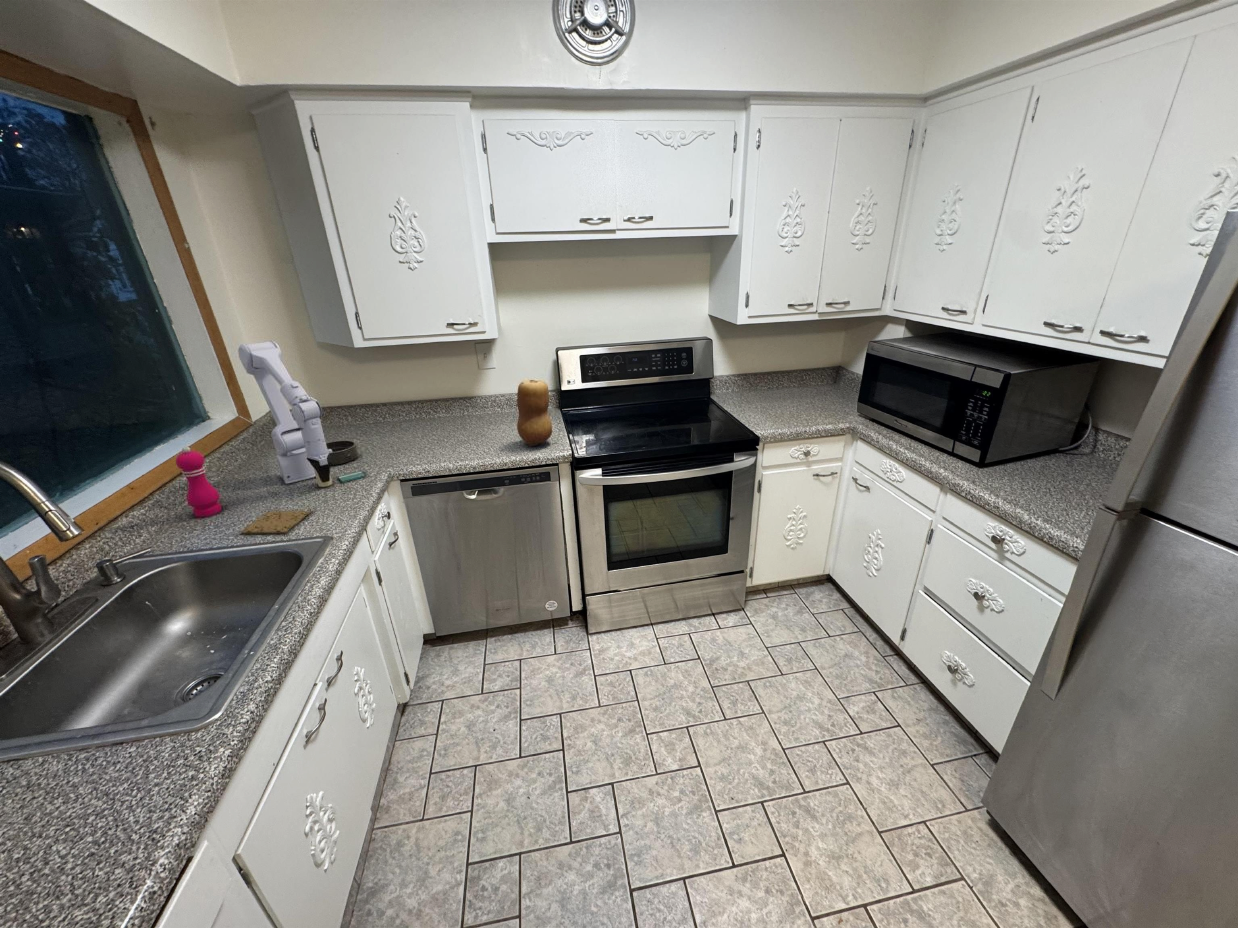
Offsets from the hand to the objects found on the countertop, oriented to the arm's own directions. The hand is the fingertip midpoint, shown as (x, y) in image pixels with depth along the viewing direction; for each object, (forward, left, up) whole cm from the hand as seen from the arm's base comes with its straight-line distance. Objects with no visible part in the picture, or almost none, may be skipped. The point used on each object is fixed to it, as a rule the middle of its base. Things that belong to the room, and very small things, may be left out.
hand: (324, 479), depth 161 cm
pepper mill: (-30, +2, -2) cm, 30 cm away
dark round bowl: (+9, +22, -2) cm, 24 cm away
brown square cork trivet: (-16, -19, -2) cm, 25 cm away
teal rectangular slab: (+8, +1, -2) cm, 8 cm away
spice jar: (0, 0, -2) cm, 2 cm away
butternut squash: (+71, -12, -2) cm, 72 cm away
